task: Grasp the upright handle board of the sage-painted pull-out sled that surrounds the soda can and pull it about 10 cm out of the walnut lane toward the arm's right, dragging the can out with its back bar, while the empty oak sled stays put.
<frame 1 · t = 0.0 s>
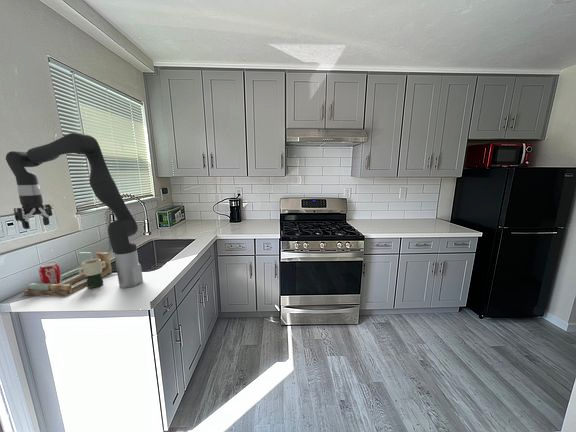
hand: (37, 226, 117), 29 cm above the countertop, fingers open, 8 cm apart
soda can: (53, 287, 116), resting in sage sled
sage sled: (65, 270, 122), point 6 cm above the countertop, slide at 0.0 cm
frame: (73, 282, 121), on the countertop
character mug: (95, 286, 117), on the countertop
oak sled: (83, 271, 121), point 6 cm above the countertop, slide at 0.0 cm
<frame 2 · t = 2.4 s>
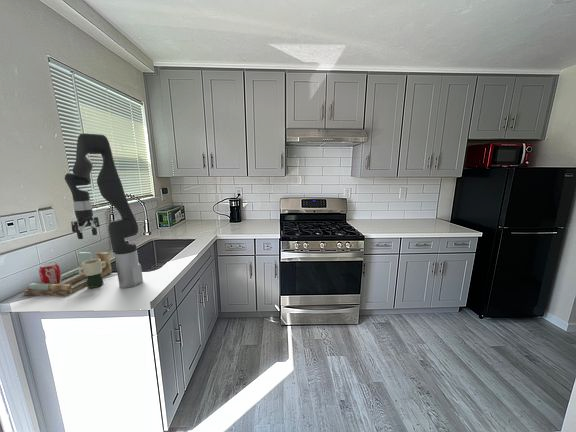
hand: (88, 236, 134), 20 cm above the countertop, fingers open, 8 cm apart
nothing on the countertop moved.
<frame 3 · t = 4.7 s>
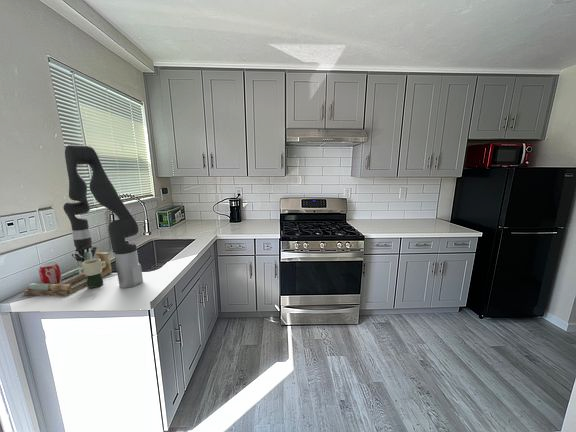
hand: (87, 266, 134), 3 cm above the countertop, fingers closed
sage sled: (65, 270, 122), point 6 cm above the countertop, slide at 0.0 cm, touching gripper
everything else where it was.
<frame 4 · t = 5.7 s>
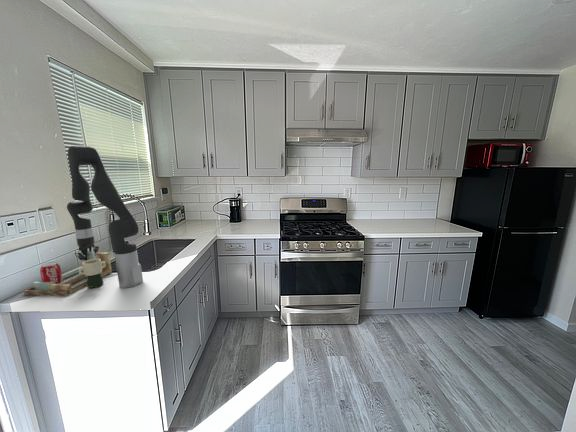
hand: (89, 265, 136), 3 cm above the countertop, fingers closed
soda can: (54, 287, 116), resting in sage sled
sage sled: (68, 269, 123), point 6 cm above the countertop, slide at 1.6 cm, touching gripper, soda can
everything else where it was.
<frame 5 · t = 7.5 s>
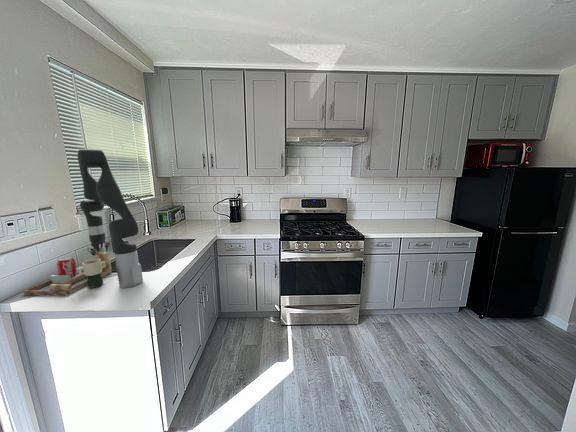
hand: (101, 260, 143), 3 cm above the countertop, fingers closed
soda can: (69, 280, 124), resting in sage sled
sage sled: (81, 263, 131), point 6 cm above the countertop, slide at 9.2 cm, touching gripper, soda can
everything else where it was.
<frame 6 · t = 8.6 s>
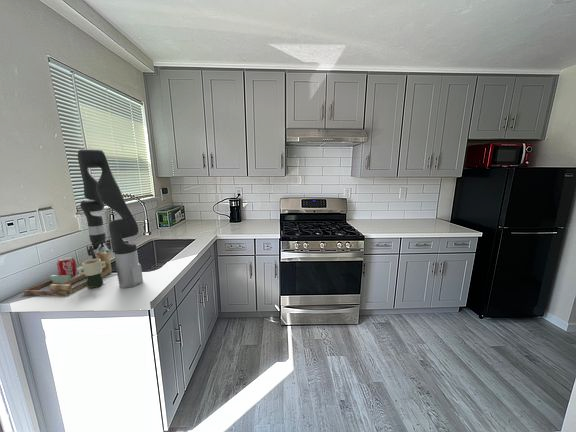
hand: (101, 259, 143), 4 cm above the countertop, fingers open, 7 cm apart
sage sled: (82, 263, 131), point 6 cm above the countertop, slide at 9.3 cm, touching soda can
everything else where it was.
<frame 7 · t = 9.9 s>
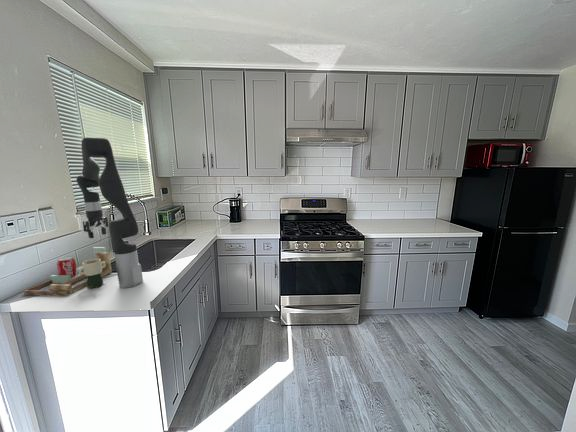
hand: (98, 236, 141), 18 cm above the countertop, fingers open, 8 cm apart
nothing on the countertop moved.
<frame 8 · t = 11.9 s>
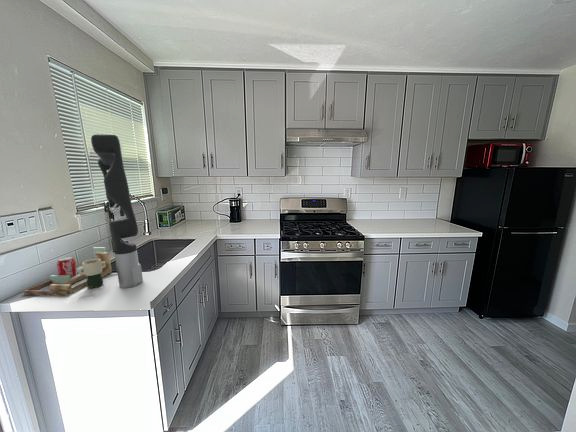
hand: (117, 217, 146), 28 cm above the countertop, fingers open, 8 cm apart
nothing on the countertop moved.
at the end: sage sled slide at 9.2 cm; soda can inside the target area (1.7 cm from its centre), resting in sage sled; soda can tilted 0° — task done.
